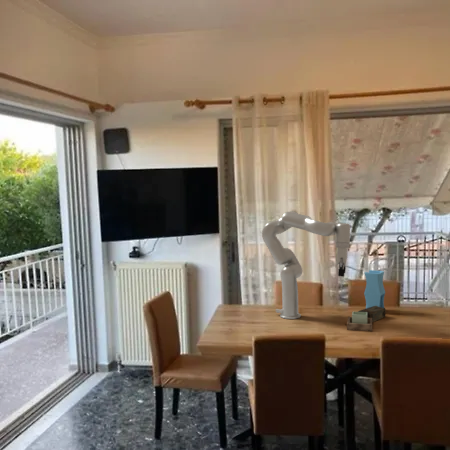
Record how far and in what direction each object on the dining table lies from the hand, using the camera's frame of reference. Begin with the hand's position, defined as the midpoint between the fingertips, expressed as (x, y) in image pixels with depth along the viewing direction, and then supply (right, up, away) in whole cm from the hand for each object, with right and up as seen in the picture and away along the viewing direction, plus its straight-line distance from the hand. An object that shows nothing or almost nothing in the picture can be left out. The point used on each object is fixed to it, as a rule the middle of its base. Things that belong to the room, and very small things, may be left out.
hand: (341, 274), depth 259 cm
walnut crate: (+8, -28, -8) cm, 30 cm away
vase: (+27, -26, +24) cm, 44 cm away
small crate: (+8, -28, -8) cm, 30 cm away
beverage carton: (+19, -27, +7) cm, 34 cm away
